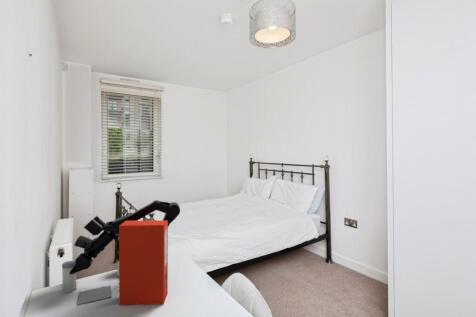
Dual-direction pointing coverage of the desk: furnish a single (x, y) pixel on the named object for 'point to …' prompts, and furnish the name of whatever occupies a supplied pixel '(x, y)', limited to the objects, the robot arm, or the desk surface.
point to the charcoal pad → (94, 295)
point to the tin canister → (68, 277)
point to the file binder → (143, 262)
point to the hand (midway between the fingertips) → (73, 268)
